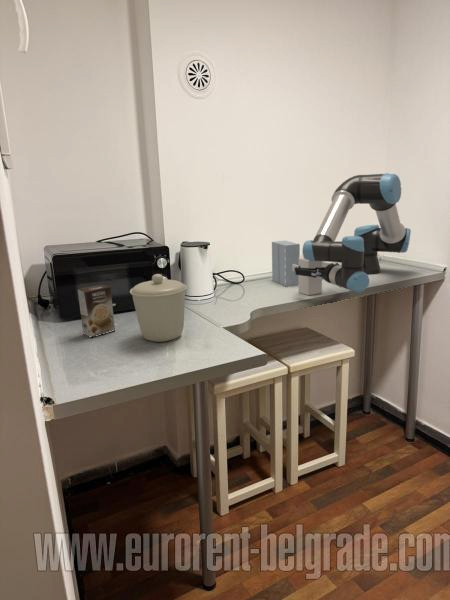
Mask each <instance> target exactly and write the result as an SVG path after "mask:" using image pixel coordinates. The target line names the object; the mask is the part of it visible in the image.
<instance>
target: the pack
mask: <svg viewBox="0 0 450 600" xmlns="http://www.w3.org/2000/svg"><path fill="white" fill-rule="evenodd" d="M300 244H301V243H296V242H292V241H289V240H277V241H271V271H272V272H271V273H272V274H271V275H272V279H271V280H272V281H273V282H274V283H277V284H279V285H280V286H284V287H285V288H286V287H292V286H293V287H294V286H298V285H299V275H295V271H292V264H295V265H298V266H299V257H300V256H301V255H300V253H301V252H300V250H301V248H300Z"/></svg>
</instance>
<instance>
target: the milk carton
mask: <svg viewBox="0 0 450 600" xmlns="http://www.w3.org/2000/svg"><path fill="white" fill-rule="evenodd" d="M299 266H301V267H302V268H316V267H319V268H322V261H311V260H306V259H305V258H304V257H303V253H302V254H301V255H300V257H299ZM318 270H319V269H317V272H318ZM322 281H323V279H322V277H319V276H316V278H313V277H309V276H301V275H299V285H297V286H298V293H300V294H303V295H306V296H312V295H318V294H322V293H323V291H322V290H323V288H322V287H323V286H322V285H323V282H322Z"/></svg>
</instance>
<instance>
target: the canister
mask: <svg viewBox="0 0 450 600" xmlns="http://www.w3.org/2000/svg"><path fill="white" fill-rule="evenodd" d="M187 289H188V286H187V284H186V283H182V282H181V281H179V280H175V279H164V276H163V275H162V274H161V273H156V274H153V275H152V276H151V280H148V281H143V282H140V283H137V284H136V285H134V287H131V288H130V290H129V293H130V294H129V295H131V296H132V300H133V305H134V308H135V313H136V318H137V322H138V326H139V330H140V333H141V335H142V337H143V338H144V339H145V340H147V341H149V342H158V343H160V342H161V343H162V342H163V343H165V342H169V341H173V340H175V339H177V338H179V337H181V335H182V334H183V330H184V326H185V325H184V324H185V306H186V305H185V304H186V303H185V302H186V301H185V300H186V290H187Z"/></svg>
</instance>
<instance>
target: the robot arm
mask: <svg viewBox="0 0 450 600" xmlns="http://www.w3.org/2000/svg"><path fill="white" fill-rule="evenodd" d="M401 186H402V182H401V179H400V177H399V176H398V175H397V174H395V173H387V172H385V173H375V174H372V173H371V174H357V175H353V176H351V177H349V178H348V179H346V180H344V181H343V182H342V183H341V184H340V185H339V186H337V188H336V189H335V190H334V192H333V194H332V196H331V204H330V206H329V208H328V210H327V212H326V214H325V216H324V218H323V220H322V222H321V224H320V226H319V229H318V230H317V232H316V234H315V236H314V238H313V239H310V240H306V241H304V243H303V245H302V250H301V251H302V254H303V257H304V258H305V259H306V260H311V261H322V268H319V267H316V268H302V267H301V266H298V265H295V264H292V271H295V275H301V276H309V277H313V278H316V276H319V277H323V278H324V279H323V280H324V281H325V282H326V283H328V284H332V285H334V286H335V285H336V286H338V287H339V288H343V289H346V290H348V291H350V292H355V293H361V292H363V291H365V290H366V289H367V288H368V287H369V284H370V278H369V275H373V274H379V273H380V272H381V266H380V261H379V258H378V252H379V253H380V252H381V253H398V254H400V253H402V254H403V253H406V252H408V249H409V245H410V241H411V233H412V232H411V231H412V230H411V229H410V228H407V227H405V226H404V224H403V223H401V219H400V216H399V211H398V207H397V203H399V201H400V199H401V197H402V196H401V195H402V187H401ZM358 204H360V205H361V204H365V205H366V204H367V205H368V204H369V206H370V208H371V209H372V210H373V211H375V214H376V216H377V220H378V223H379V224H370V225H369V224H368V225H367V224H366V225H363V226H358V227H356V228H355V229H354V232H353V235H347V236H344V237H342V239H341V241H336V239H337V236H338V235H339V233H340V230H341V228H342V226H343V224H344V222H345V220H346V217H347V215H348V213H349V211H350V210H351V209H353V207H354V205H358ZM339 263H341V265H340V264H339ZM317 269H319V270H318V272H317Z"/></svg>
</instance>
